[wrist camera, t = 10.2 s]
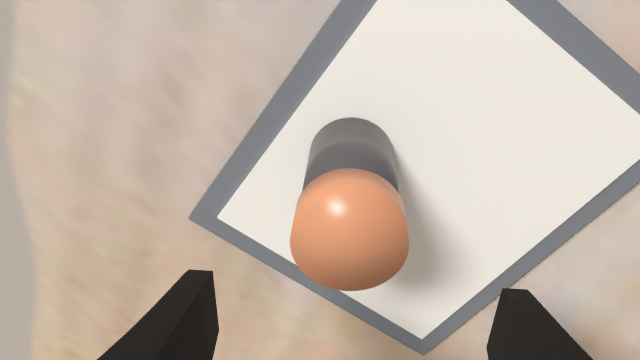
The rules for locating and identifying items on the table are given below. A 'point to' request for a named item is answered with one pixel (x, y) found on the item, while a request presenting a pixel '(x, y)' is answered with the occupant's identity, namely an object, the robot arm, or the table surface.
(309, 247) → the orange-topped grey cylinder
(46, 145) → the table surface
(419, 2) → the writing pad
